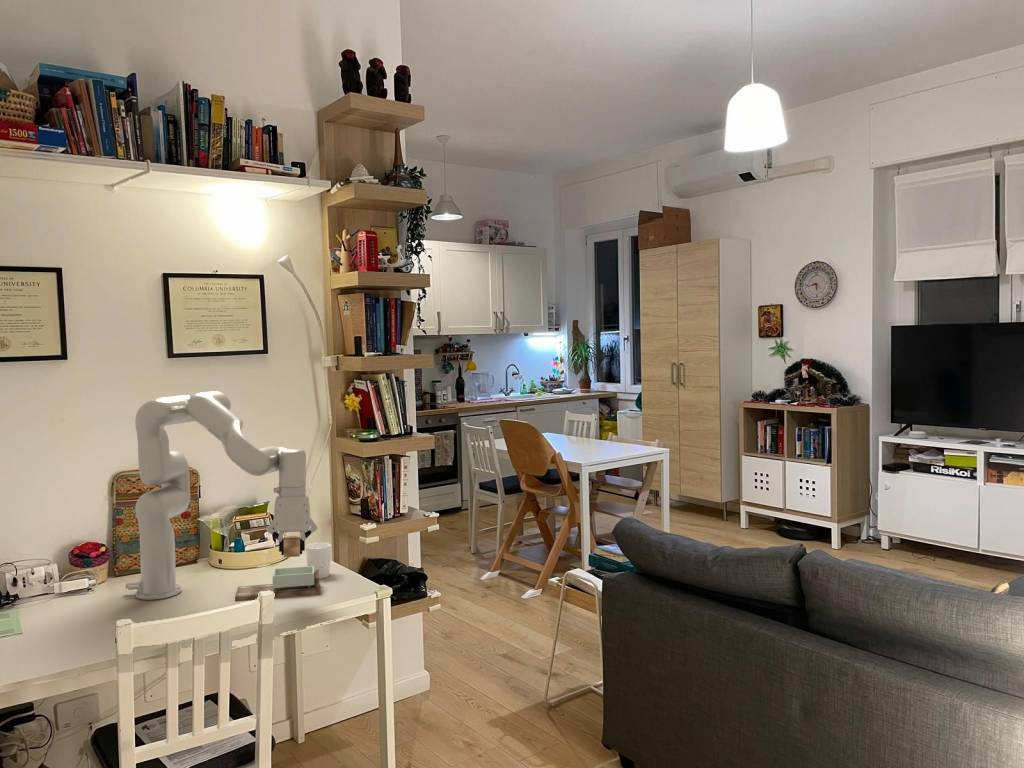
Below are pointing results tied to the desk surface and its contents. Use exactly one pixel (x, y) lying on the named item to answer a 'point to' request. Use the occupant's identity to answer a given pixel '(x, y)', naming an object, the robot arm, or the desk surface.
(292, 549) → the block
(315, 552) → the white cup
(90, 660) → the desk surface
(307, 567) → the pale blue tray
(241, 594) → the rail
